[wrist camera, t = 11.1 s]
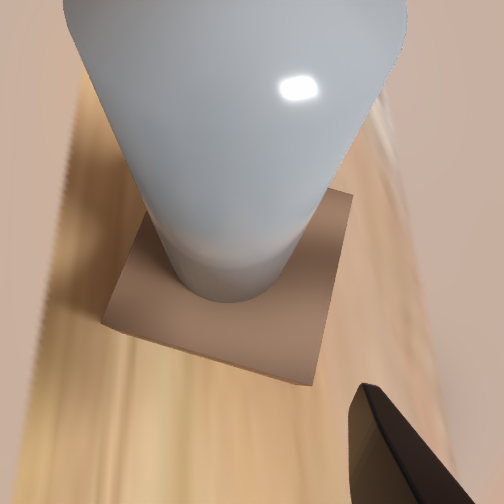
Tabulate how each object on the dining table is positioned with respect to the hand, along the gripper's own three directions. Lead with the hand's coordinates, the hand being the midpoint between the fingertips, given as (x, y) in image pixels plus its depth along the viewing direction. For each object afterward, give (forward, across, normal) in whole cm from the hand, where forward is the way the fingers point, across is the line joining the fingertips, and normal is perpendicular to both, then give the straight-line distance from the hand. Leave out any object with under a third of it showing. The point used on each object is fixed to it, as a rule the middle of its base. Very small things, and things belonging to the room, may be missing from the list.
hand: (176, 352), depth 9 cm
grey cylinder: (+10, 0, +2) cm, 10 cm away
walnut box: (+13, 0, +5) cm, 14 cm away
